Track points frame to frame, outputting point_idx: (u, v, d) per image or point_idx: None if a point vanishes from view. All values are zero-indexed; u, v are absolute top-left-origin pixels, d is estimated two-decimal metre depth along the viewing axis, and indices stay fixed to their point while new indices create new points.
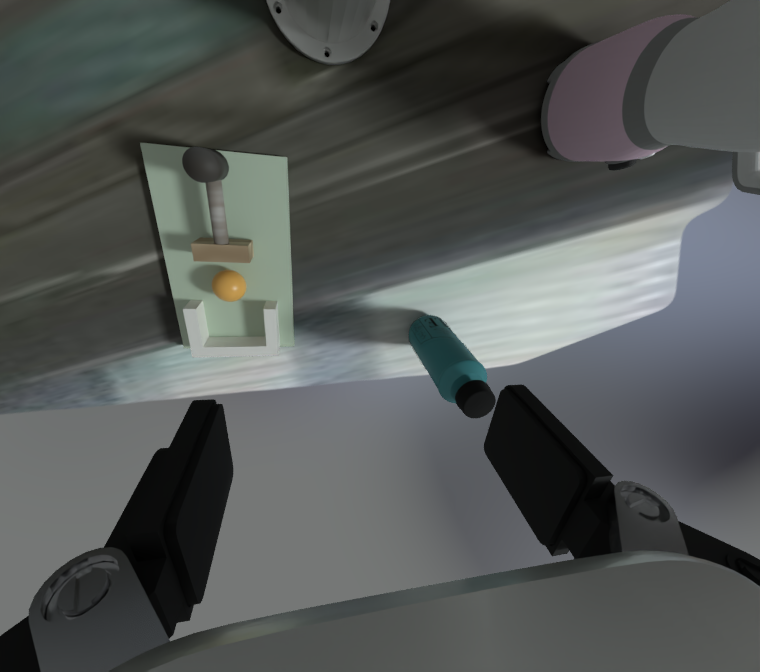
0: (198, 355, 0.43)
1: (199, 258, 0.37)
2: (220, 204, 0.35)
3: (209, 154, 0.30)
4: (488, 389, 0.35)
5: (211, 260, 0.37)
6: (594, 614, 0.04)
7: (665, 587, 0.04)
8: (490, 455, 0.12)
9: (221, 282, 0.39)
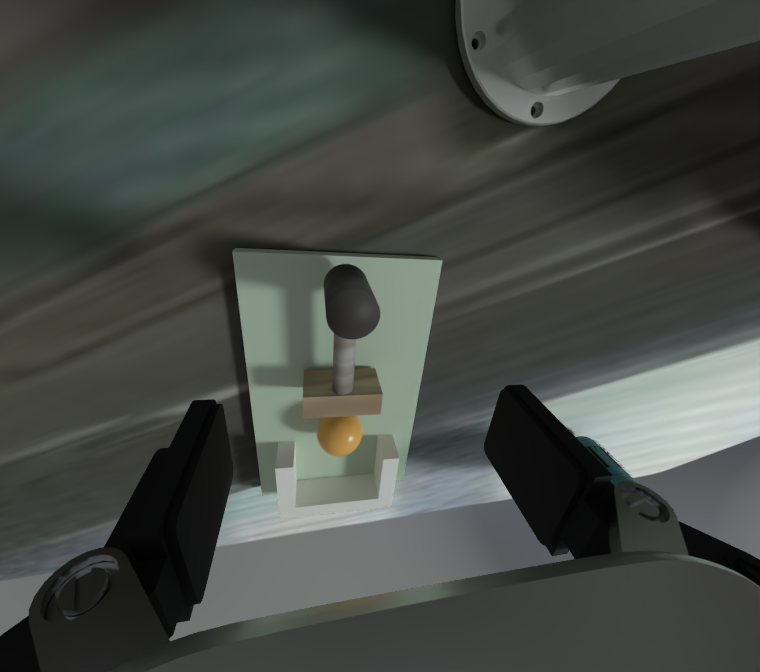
0: (287, 516, 0.31)
1: (311, 414, 0.24)
2: (353, 343, 0.22)
3: (371, 299, 0.17)
4: None
5: (327, 415, 0.25)
6: (594, 614, 0.04)
7: (665, 587, 0.04)
8: (490, 455, 0.12)
9: (336, 438, 0.26)
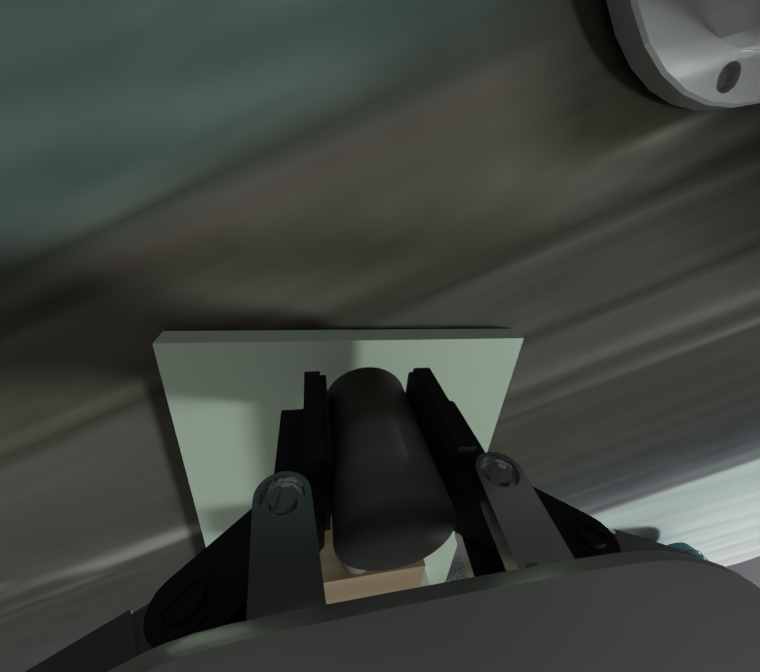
0: None
1: None
2: None
3: (441, 502, 0.07)
4: None
5: None
6: (594, 615, 0.04)
7: (665, 587, 0.04)
8: None
9: None
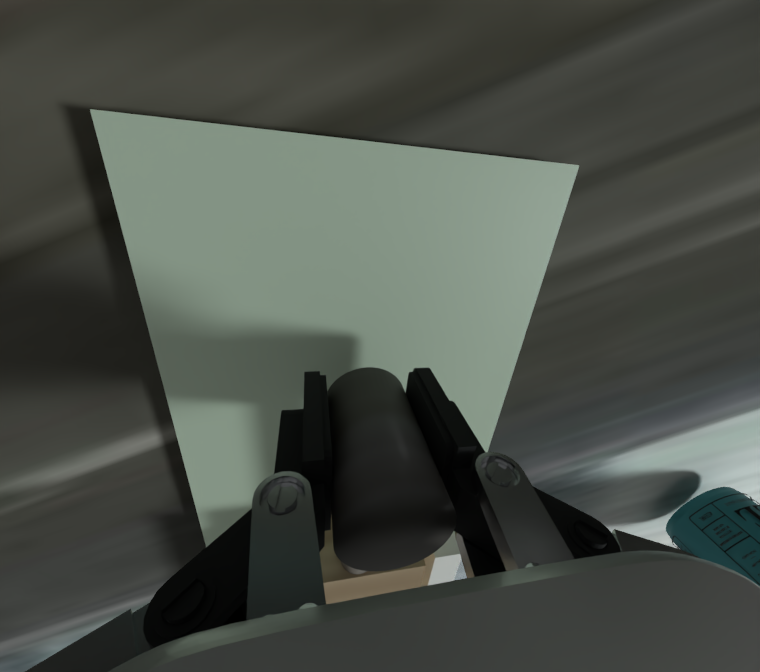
0: None
1: None
2: None
3: (441, 503, 0.07)
4: None
5: None
6: (593, 613, 0.04)
7: (665, 587, 0.04)
8: None
9: None
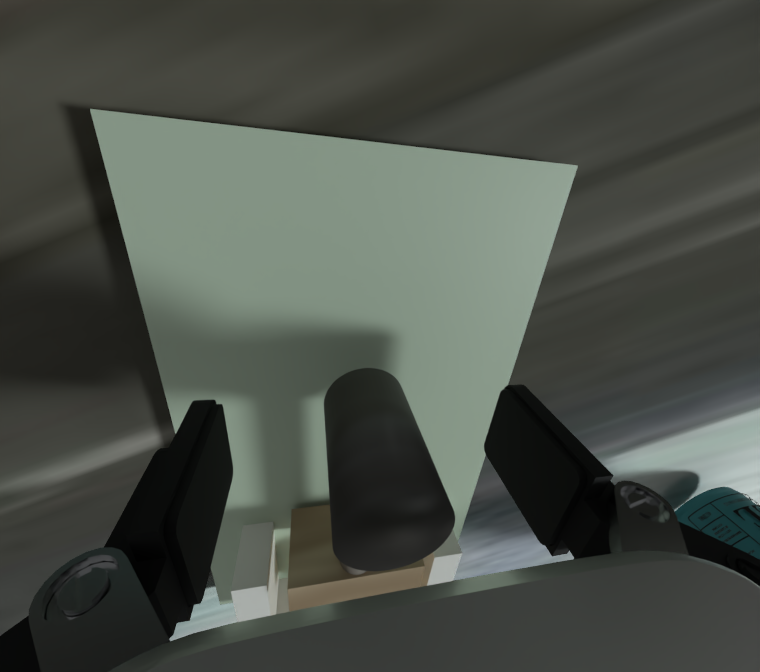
0: None
1: (303, 606, 0.14)
2: None
3: (440, 503, 0.07)
4: None
5: None
6: (594, 614, 0.04)
7: (665, 587, 0.04)
8: (490, 455, 0.12)
9: None
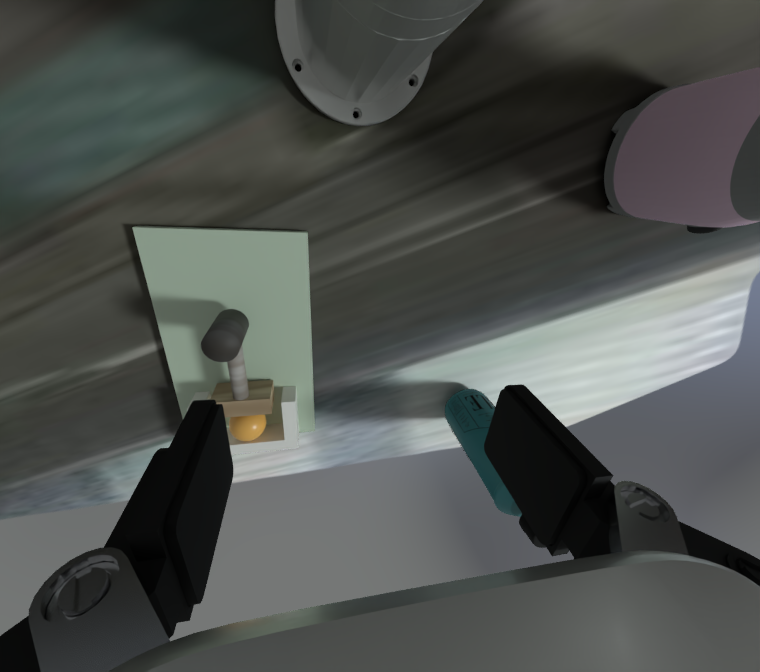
0: None
1: None
2: (240, 363, 0.32)
3: (230, 336, 0.27)
4: None
5: (230, 415, 0.34)
6: (593, 613, 0.04)
7: (665, 587, 0.04)
8: (490, 455, 0.12)
9: None
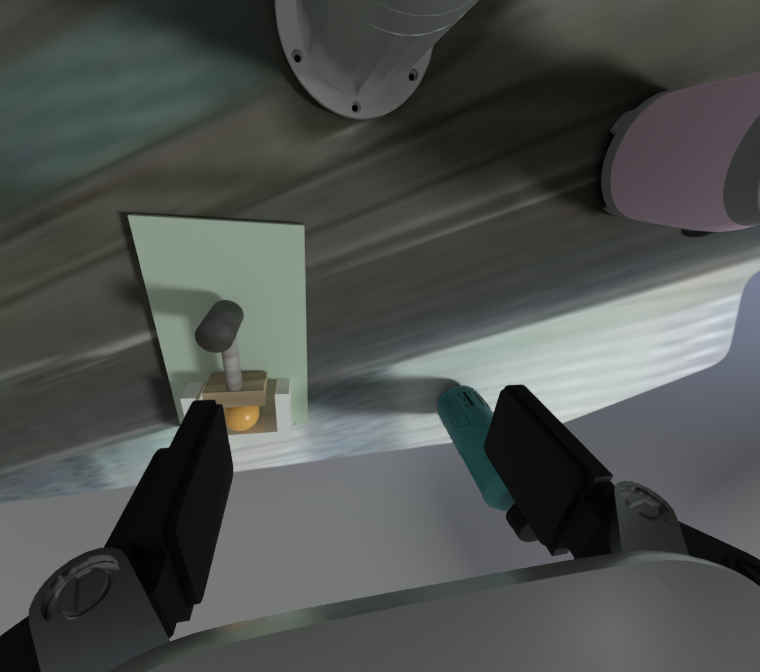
0: None
1: None
2: (234, 354, 0.32)
3: (224, 327, 0.27)
4: None
5: (223, 406, 0.34)
6: (593, 613, 0.04)
7: (665, 587, 0.04)
8: (490, 455, 0.12)
9: None
